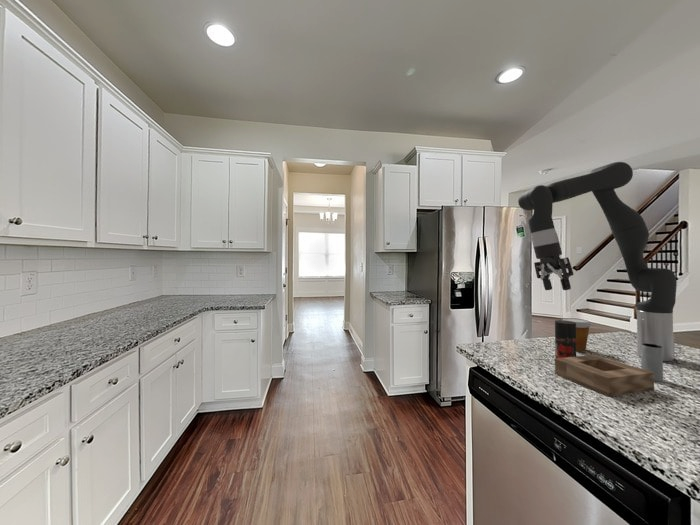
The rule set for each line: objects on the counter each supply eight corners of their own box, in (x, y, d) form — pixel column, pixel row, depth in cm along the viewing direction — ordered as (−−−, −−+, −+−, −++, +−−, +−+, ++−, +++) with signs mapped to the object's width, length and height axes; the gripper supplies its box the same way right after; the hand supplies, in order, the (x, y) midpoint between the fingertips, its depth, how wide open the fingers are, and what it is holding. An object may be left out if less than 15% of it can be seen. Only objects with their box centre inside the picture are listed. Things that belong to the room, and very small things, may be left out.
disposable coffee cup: (578, 353, 112) (578, 323, 112) (555, 346, 121) (555, 318, 121) (597, 351, 114) (597, 321, 114) (573, 344, 124) (573, 317, 123)
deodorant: (551, 361, 104) (550, 320, 104) (566, 361, 104) (566, 320, 104) (564, 368, 98) (564, 324, 98) (580, 367, 98) (580, 323, 98)
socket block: (594, 369, 96) (594, 354, 96) (654, 390, 80) (653, 372, 80) (555, 373, 93) (554, 358, 93) (608, 396, 77) (608, 378, 77)
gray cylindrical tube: (667, 382, 86) (667, 347, 85) (649, 381, 86) (649, 347, 86) (654, 376, 90) (654, 343, 90) (637, 375, 91) (637, 342, 91)
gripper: (572, 238, 92) (585, 287, 91) (542, 244, 107) (553, 288, 105) (549, 242, 92) (562, 292, 91) (522, 248, 106) (533, 291, 105)
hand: (557, 289), depth 98 cm, fingers open, 8 cm apart
